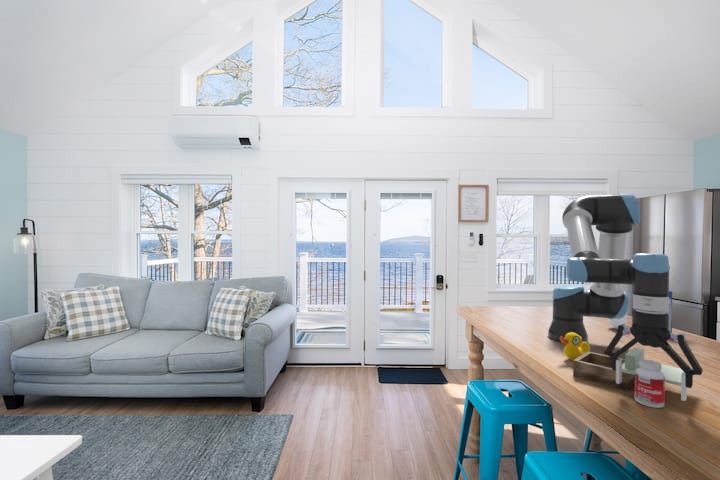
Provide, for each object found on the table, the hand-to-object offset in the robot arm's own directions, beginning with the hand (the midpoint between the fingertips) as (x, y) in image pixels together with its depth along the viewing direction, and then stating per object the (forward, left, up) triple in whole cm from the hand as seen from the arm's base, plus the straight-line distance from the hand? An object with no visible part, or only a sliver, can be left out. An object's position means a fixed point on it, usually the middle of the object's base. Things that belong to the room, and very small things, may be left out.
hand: (649, 390), depth 94 cm
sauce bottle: (-28, +88, -4) cm, 92 cm away
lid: (-1, +12, +2) cm, 12 cm away
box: (-13, +12, -3) cm, 18 cm away
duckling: (-25, +22, -4) cm, 34 cm away
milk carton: (-14, +95, -4) cm, 96 cm away
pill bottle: (0, 0, -4) cm, 4 cm away
